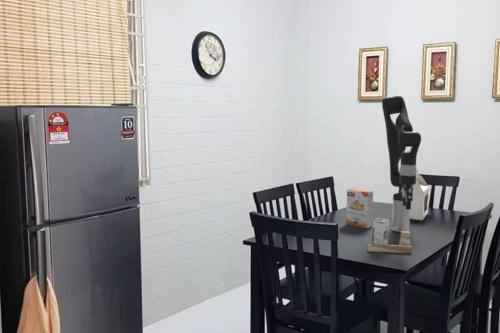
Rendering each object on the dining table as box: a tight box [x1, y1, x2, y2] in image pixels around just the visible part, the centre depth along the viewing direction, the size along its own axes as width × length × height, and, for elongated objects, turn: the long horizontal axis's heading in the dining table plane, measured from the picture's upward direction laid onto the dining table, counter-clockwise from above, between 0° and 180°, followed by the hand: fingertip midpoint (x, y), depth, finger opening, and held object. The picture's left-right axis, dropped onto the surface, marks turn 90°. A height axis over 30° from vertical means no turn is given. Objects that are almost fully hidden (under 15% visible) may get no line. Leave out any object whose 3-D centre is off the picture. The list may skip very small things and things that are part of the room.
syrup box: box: [371, 217, 390, 245], centre depth 241 cm, size 6×6×14 cm
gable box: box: [400, 169, 430, 221], centre depth 314 cm, size 22×13×28 cm, turn 153°
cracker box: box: [345, 188, 374, 230], centre depth 287 cm, size 14×6×21 cm, turn 45°
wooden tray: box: [367, 230, 413, 254], centre depth 243 cm, size 16×20×8 cm
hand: (406, 207), depth 240 cm, fingers open, 8 cm apart
